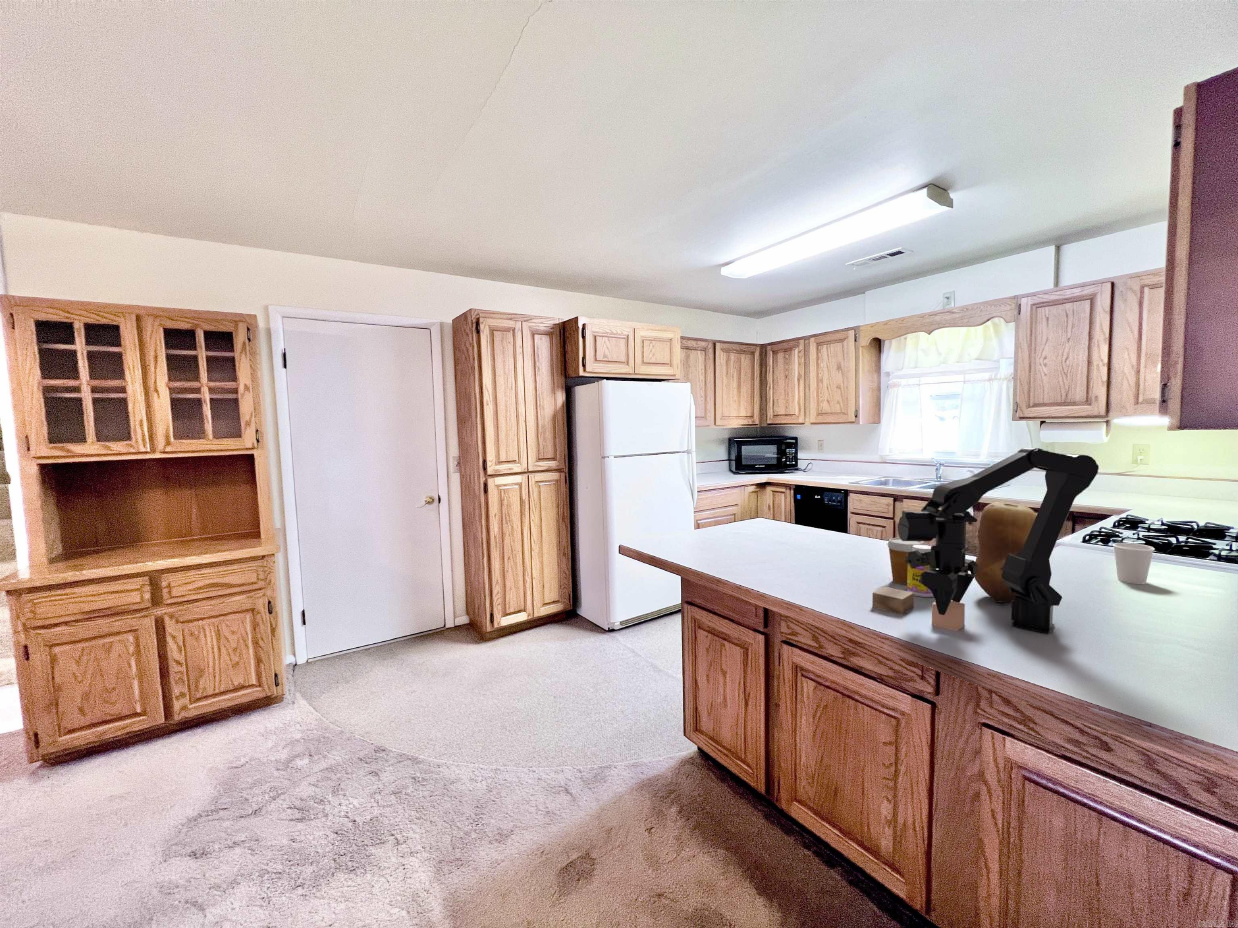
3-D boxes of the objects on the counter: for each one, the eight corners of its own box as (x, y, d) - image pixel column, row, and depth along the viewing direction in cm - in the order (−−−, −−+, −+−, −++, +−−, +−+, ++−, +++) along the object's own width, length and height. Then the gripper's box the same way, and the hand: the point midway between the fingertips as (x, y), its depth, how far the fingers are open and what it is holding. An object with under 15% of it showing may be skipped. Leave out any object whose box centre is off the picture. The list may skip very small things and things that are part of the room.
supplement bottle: (907, 595, 136) (908, 548, 136) (906, 588, 142) (907, 542, 141) (936, 599, 133) (938, 550, 133) (935, 591, 139) (936, 545, 138)
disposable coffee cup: (879, 580, 151) (879, 539, 150) (901, 575, 155) (901, 536, 154) (909, 588, 142) (910, 546, 141) (931, 583, 146) (932, 542, 145)
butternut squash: (1047, 611, 123) (1051, 508, 121) (981, 606, 127) (984, 506, 126) (1023, 593, 136) (1026, 500, 134) (964, 589, 140) (966, 499, 139)
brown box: (913, 608, 128) (913, 592, 128) (902, 615, 123) (902, 599, 123) (884, 601, 133) (884, 586, 133) (872, 608, 129) (872, 592, 128)
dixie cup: (1103, 576, 149) (1104, 542, 149) (1132, 576, 149) (1134, 542, 148) (1130, 585, 141) (1132, 549, 140) (1162, 585, 141) (1163, 549, 140)
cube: (964, 625, 116) (964, 603, 116) (957, 631, 113) (957, 609, 113) (939, 619, 120) (939, 598, 120) (931, 625, 117) (932, 603, 116)
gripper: (925, 530, 127) (924, 592, 128) (895, 542, 115) (894, 610, 116) (979, 536, 119) (977, 602, 120) (952, 550, 107) (950, 623, 108)
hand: (948, 609), depth 116 cm, fingers open, 9 cm apart
